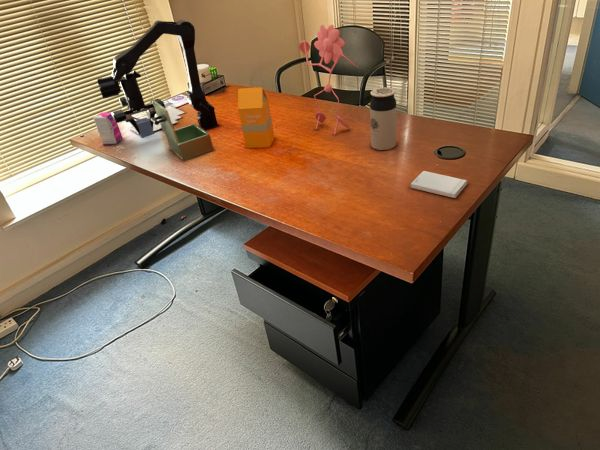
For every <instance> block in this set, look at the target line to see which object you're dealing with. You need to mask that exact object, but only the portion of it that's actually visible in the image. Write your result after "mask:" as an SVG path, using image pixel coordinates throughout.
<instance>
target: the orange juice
mask: <svg viewBox="0 0 600 450" xmlns="http://www.w3.org/2000/svg"><path fill="white" fill-rule="evenodd" d="M237 111H238V116H239V120H240V125H241V129H242V130H241V131H242V134H243V138H244V143H245V149H255V148H271V146H272V144H273V142H274V140H275V131H274V127H273V119H272V114H271V109H270V103H269V98H268V96H267V94H266V92H265V90H264V88H263V86H258V87H257V86H256V87H243V88H241V87H240V88H237Z"/></svg>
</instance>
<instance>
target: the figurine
mask: <svg viewBox="0 0 600 450" xmlns="http://www.w3.org/2000/svg"><path fill="white" fill-rule="evenodd" d="M340 35H341V32H340V30H339V29H337V28H335V26H334V25H333V24H330V25H329V26H327V28H326V26H325V25H324V24H321V25H320V26H319V31H317V32H316V38H317V40H315V41H314V43H313V45H314V48H316V49H317V50H318V51H319V52H318V55H319V57H321V58H320V61H319V63H309V58H308V52H309V51H310V49H311V45H310V43H309V42H308V41H307V40H305V39H304V40H302V41H300V43H299V45H298V48H299V50H300V51H301V52H302V53H303V54H305V59H306V60H305V61H306V64H307V66H318V67H321V68H323V69H324V70H325V71H327V72H329V74H328V75H329V76H328V81H327V84H326V85H324V88H323V90H321V91H319V92H317V93H315V94H314V95H313V98H314V101H315V104H316V107H317V110H318V112H316V113H315V119H316V121H317V122H316V125H315V130H318V128H319V123H321V124H323V123H324V122H325V121H326V119H327V116H326V114H325V113H324V112H322V111H321V110H320V108H319V104H318V101H317V98H316V96H318V95H320V94H321V93H323V92H326V93H331V92H332V93H333V95H334V96H335V97H336V100H337V111H338V112H337V113H338V115H331V116H328V118H331V117H332V118H333V117H335V119H336V125H335V128H334V133H333V135H336V134H337V131H338V126H339V123H340V124H341V125H342V126H344V127H345V128H347V129H348V130H350V128H351V127H350V126H349V124H348V123H347V122H346V121H345V120H344V119H343V118H345V115H340V99H339V97H338V96H337V94H336V93H335V91H334V90H333V85H331V84H330V82H331V76H332V73H333V71H334V68H335V67H336V65H337V64H338V63H339V60H340V58H342V57H344V58H345V59H346V60H347V61H348V62H350V63H351V64H352V65H353V66H354V67H356V68H359V66H358V65H357V64H355V63H354V62H353V61H352V60H351V59H350V58H348V57H347V56H346V55H344V52H343V49H342V48H343V47H344V46H345V45H346V42H345V41H344V39H343V38H341V37H340ZM323 61H324V63H325V64H326V65H327V64H329V63H331V61H332V62H333V63H334V64H333V65H332V66H331V68H330V67H327V66H326V65H323V64H322V63H323ZM346 118H347V119H352V120H354V121H356V122H358V120H357V119H355V118H353V117H350V116H346ZM348 138H350V136H347V137H346V139H348Z"/></svg>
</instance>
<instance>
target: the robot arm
mask: <svg viewBox="0 0 600 450" xmlns="http://www.w3.org/2000/svg"><path fill="white" fill-rule="evenodd" d="M163 35H171V36H177V39H178V41H179V43H180V46H181V49H182V54H183V58H184V63H185V69H186V75H187V80H188V85H189V87H188V90H185V94H186V97H187V99H186V102H187V103H188V104H189V105H190V107H192V108H193V110H195V111H196V115H197V117H196V120H197V124H198V126H199V127H200V128H202V129H203V130H204V131H209V130H210V129H214V128H217V127H220V124H219V123H218V120H217V115H216V111H215V107H214V106H213V105H212V104H211V103H210V102H209V101H207V98H206V94H205V93H204V90H203V88H202V85H201V80H200V74H199V68H198V63H197V57H196V51H195V43H196V28H195V25H193V23H191V22H190V21H188V20H185V19H179V20H178V21H164V20H163V21H162V20H155V21H154V23H153V24H152V25H151V26H150V28H148V29H147V31H145V32H144V33H143V34H142V36H140V37H139V38H138V39H137V40H136V41H135V42H134V43H133V44H132V45H131V46H130V47H128V48H126V49H125V50H123V51H121V52H119V53H118V54H117V55H116V56H114V57H113V60H112V64H113V69H112V72H111V76H106V77H100V78H97V79H96V82H97V84H98V87H99V91H100V94H101V96H102V99H103V100H104V99H109V98H113V97H118V96H120V94H121V92H123V94H124V96H122V97H119V98H118V101H119V104H120V107H122V108H123V107H127V109H128V110H124V111H123V109H118V110H114V111H111V112H112V114H111V115H112V118H113V120H114V121H115V122H116V123H117V124H119V123H122V122H125V123H130V124H131V125H132V126H133V127H134V128H135V129H136V131H137V132H138V133H139V134H140V131H139V128H138V126H137V124H136V122H135V121H136V119H135V118H134V117H133V115H134V116H135V115H137V114H140V113H144V112H145V113H146V115H147V116H148V119H149V120H150V123H151V126H152V129H153V122H152V121H151V118H152V117H153V118H154V117H155V114H156V111H155V108H154V105H153V103H152V101H153V100H154V101H156V102H157V103H159V104H160V105H161V106H163V107H164V108H166V105H165V102H164V101H163V100H161V99H160V98H155V99H151V100H149V103H148V104H145V101H144V98H143V93H142V91H141V88H140V85H139V83H138V78H141V77H142V75H141V73H140V72H138V71H136V70H135V69H134V68H135V66H136V65H137V63H138V61H139V59H140V58H141V57H142V55H144V53H145V52H147V51H148V50H149V48H150V47H152V46H153V44H154V43H156V42H157V41H158V40H159V39H160V38H161V37H162V36H163ZM139 134H138V135H139Z"/></svg>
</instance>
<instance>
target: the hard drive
mask: <svg viewBox="0 0 600 450" xmlns="http://www.w3.org/2000/svg"><path fill="white" fill-rule="evenodd" d="M467 185H468V180H467V179H463V178H458V177H453V176H449V175H445V174H440V173H435V172H430V171H426V170H423V171H422V172H420V173H419V174H418V175H417V176H416V177H415V179H414V180H412V182H411V183H410V188H411V189H415V190H418V191H423V192H427V193H431V194H436V195H440V196H444V197H448V198H452V199H456V198H457V197H458V196H459V195H460V194H461V192H462V191H463V190H464V189H465V187H467Z"/></svg>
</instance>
